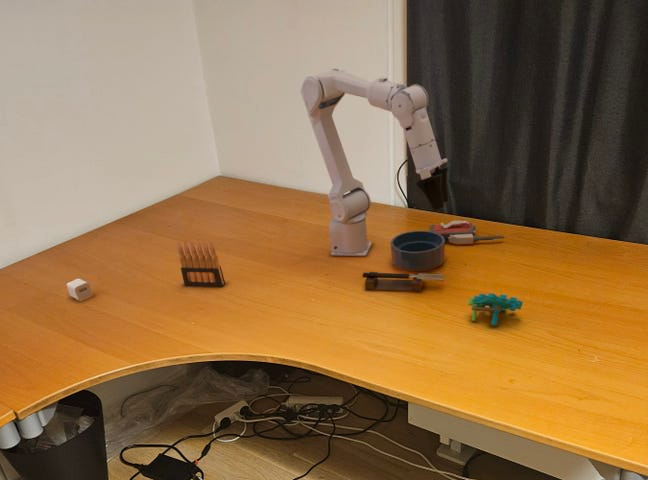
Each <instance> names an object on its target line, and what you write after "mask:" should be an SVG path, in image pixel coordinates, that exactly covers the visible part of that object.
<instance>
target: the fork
mask: <svg viewBox="0 0 648 480" xmlns="http://www.w3.org/2000/svg"><path fill="white" fill-rule="evenodd" d="M417 273H418V275H415V274H410V273H394V272H393V273H391V272H378V273H369V272H363V273H362V278H363V279H364V278H365V279H366V278H378V279H395V280H413V279H417V280H424V281H429V282H430V281H432V282H444V278H445V274H439V273H438V274H437V273H423V272H417ZM422 273H423V274H422Z"/></svg>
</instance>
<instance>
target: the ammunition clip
mask: <svg viewBox="0 0 648 480" xmlns="http://www.w3.org/2000/svg"><path fill="white" fill-rule="evenodd" d="M176 246H177V247H176V248H177V252H178V253H177V254H178V260H179V262H180V271H181V276H182V280H183V285H184V287H204V288H205V287H206V288H207V287H208V288H223V287H224V285H225V284H226V280H225V277H224V273H223V270H222V266H221V265H220V263H219V262H220V261H219V257H218V255H217V252H216V249H215V246H214V243H213V242H212V241H211V240H210V241H209V246H208V244H207V243H206V241H205V240H203V242H202V245H201V243H200V242H199V240H197V241H196V246H195V244H194V242H193V241H192V240H190V242H189V244H188V243H187V241H185V240H183V246H182V244H181V242H180V241H179V240H177V241H176Z"/></svg>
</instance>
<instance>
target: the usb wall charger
mask: <svg viewBox="0 0 648 480" xmlns="http://www.w3.org/2000/svg"><path fill="white" fill-rule="evenodd" d="M66 288H67V291H68V293H69V296H70V297H72V298H73V299H75V300H77V301H79V302H83V301H85V300H88V299H90V298H91V297H93V295H94V294H93V293H94V292H93V290H92V288H91V285H90V282H87V281H85V280H83V279H82V278H76V279H73V280H71V281H68V282H67V283H66Z"/></svg>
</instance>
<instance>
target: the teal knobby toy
mask: <svg viewBox="0 0 648 480" xmlns="http://www.w3.org/2000/svg"><path fill="white" fill-rule="evenodd" d="M507 297H508V295H507V294H499V296H498V295H496V294H495V293H494V292H493V293H492V292H491V293H488V294H485V293H479V294H478V295H474V296H473V298H472V297H469V298H468V301H467V305H468V306H470V307H471V311H472V317H471V321H472V322H476V320H477V319H476V318H477V313H478V312H489V313H490V312H491V313H492V312H493V314H492V319H491V326H492V327H497V325H498V318H499V313H500V312H507V310H509V311H512V312H514V311H516V310H521V309H522V307H523V302H524V301H522V300H518V298H517V297H514V296H511V297H509V298H507ZM486 306H487V307H486Z"/></svg>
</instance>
